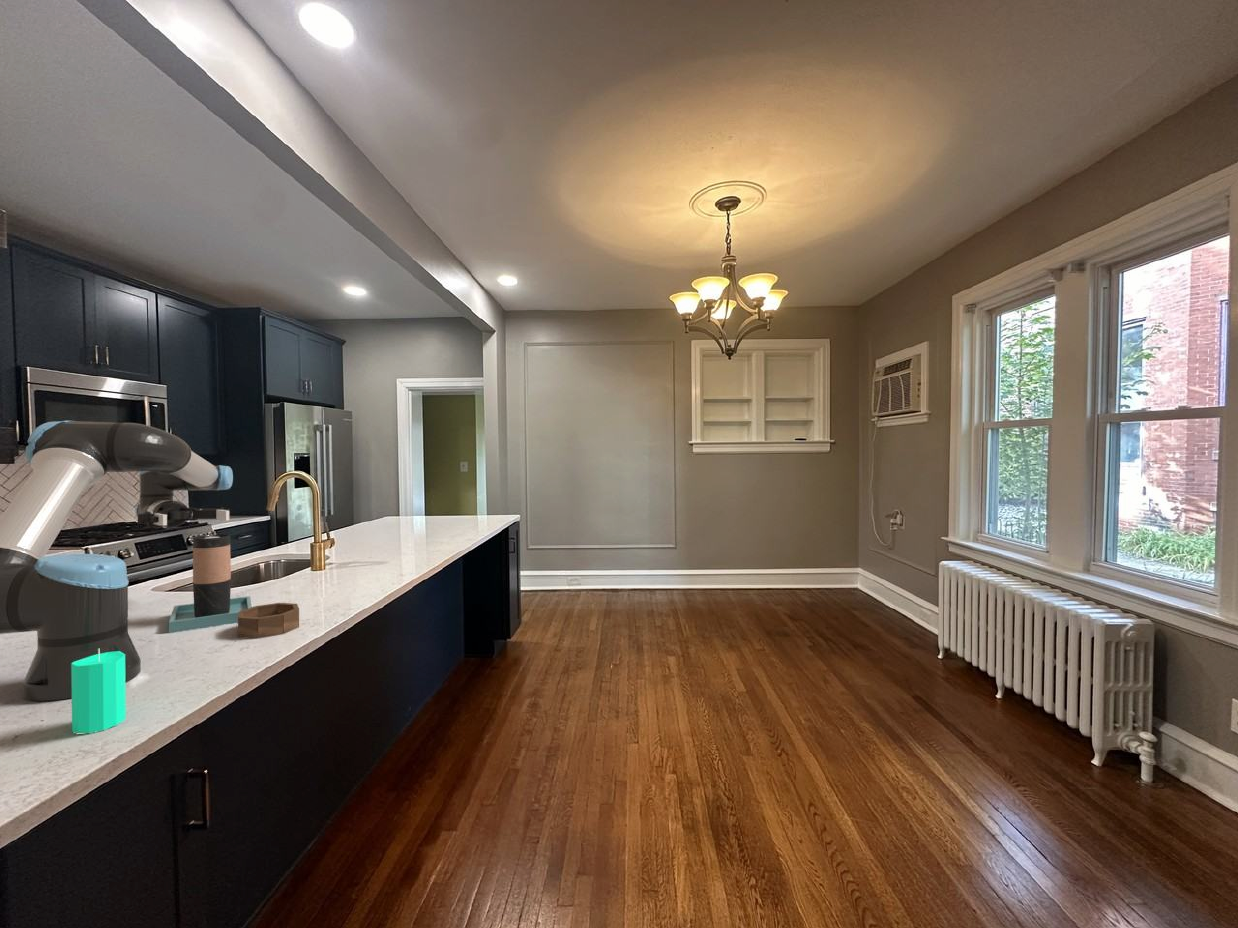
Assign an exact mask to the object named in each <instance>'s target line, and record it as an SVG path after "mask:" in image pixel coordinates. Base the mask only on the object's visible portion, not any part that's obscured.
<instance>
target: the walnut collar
mask: <svg viewBox="0 0 1238 928" xmlns="http://www.w3.org/2000/svg"><path fill="white" fill-rule="evenodd" d="M297 628H300V608H299V604H298V603H290V602H276V603H269V604H267V603H266V604H261V605H256V606H255V605H254V606H252V607H251V608H249V609H246V610H243V611H240V612H238V623H237V635H238V636H237V637H238V638H248V639H261V638H267V637H273V636H279V635H280V636H281V635H285V634H286V633H288V632H291V631H293V630H296V629H297Z"/></svg>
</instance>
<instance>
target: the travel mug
mask: <svg viewBox="0 0 1238 928" xmlns="http://www.w3.org/2000/svg"><path fill="white" fill-rule="evenodd" d="M231 559H232V558H231V535H230V533H229V534H228V533H217V534H215V535H214V536H206V535H196V536H194V537H193V538H192V589H193V590H192V591H193V603H194V614H195V617H196V618H197V617H205V616H212V615H219V614H226V613H229V611H230V599H231V590H232V589H231V587H232V567H231V565H232V563H231Z"/></svg>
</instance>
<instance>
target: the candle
mask: <svg viewBox="0 0 1238 928" xmlns="http://www.w3.org/2000/svg"><path fill="white" fill-rule="evenodd" d="M71 674H72V698H71V732H72V731H73V732H75V733H91V732H95V731H101V730H104V729H107V728H110V727H112V726H115V725H117V724H119V723H120V722H122V721H123V720H124V719H125V720H126V718H125V716H126V717H127V715H126V713H127V712H126V711H127V709H126V708H127V707H126V706H127V705H126V703H127V702H126V701H127V700H126V682H125V654H124V653H122V652H120V651H115V652H107V653H101V654H100V648H99V649H98V654H96V655H93V656H90V657H87V658H84V659H81V660H78V661H75V662H73V663H71ZM122 723H123V722H122ZM120 724H121V723H120ZM120 724H119V725H120ZM117 726H118V725H117ZM115 727H116V726H115ZM110 729H111V728H110ZM107 730H108V729H107ZM101 732H102V731H101Z"/></svg>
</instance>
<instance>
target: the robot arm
mask: <svg viewBox="0 0 1238 928" xmlns="http://www.w3.org/2000/svg"><path fill="white" fill-rule="evenodd" d="M27 444H28V445H27V446H25V455H26V459H27V462H28V464H29V465H30V467H31V469H32V471H33V472H32V473H31V474H30V476H29V477H28V479H27V480H26V482H25V483H24V484H23V486H21V488H20V489H19V490H18V492H17V494H16V495H15V496H14V498H13V499H12V500H11V502H10V503H9V504H8V506H7V507H6V509H5V510H4V512H3V513H2V514H1V515H0V635H3V634H14V633H15V634H16V633H26V632H28V633H29V632H36V634H37V635H36V636H37V648H36V652H35V655H34V656H33V659H32V661H31V663H30V666H29V668H28V671H27V673H26V675H25V678H24V681H23V684H22V697H23V698H24V699H25V700H29V701H35V702H37V701H40V702H43V701H44V702H46V701H56V700H57V701H58V700H59V701H60V700H65V699H72V674H71V663H73V662H75V661H78V660H81V659H84V658H87V657H90V656H93V655H96V654H98V649H99V648H100V654H101V653H107V652H115V651H120V652H122V653H124V654H125V683H126V682H129V681H130V680H133V679H134V678H136V677H137V676H138V675H140V673H141V670H142V669H141V667H142V665H141V662H142V661H141V658H140V655H139V653H138V651H137V650H136V649H137V648H136V647H135V645H134V642H133V641H132V639H131V637H130V635H129V626H128V625H129V615H128V614H129V606H128V605H129V597H128V595H129V582H130V581H129V578H128V574H127V573H128V571H127V564H126V562H125V561H124V560H123V559H121V558H119V557H117V556H114V555H107V554H99V553H96V554H95V553H72V554H68V553H67V554H66V553H65V554H64V553H63V554H54V555H47V553H48V552H49V550H50V548H51V547H52V545H53V543H54V542H55V540H56V538H57V537H58V535H59V534H60V532H61V530H62V529H63V527H64V526H65V523H66V522H67V521H68V520H69V517H70V516H71V514H72V512H73V511H74V509H75V508H76V505H77V504H78V503H79V501H80V499H81V497H82V496H83V494H84V493H85V491H86V489H87V488H89V487H92V486H94V485H95V486H96V485H98V483H99V482H101V481H102V480H103V478H104V476H105V474H107V473H128V472H129V473H132V472H135V473H136V472H137V473H138V472H139V475H138V476H139V503H138V504H137V506H136V507H135V510H134V513H135V516H136V517H137V525H144V524H147V527H154V526H161V527H162V528H163V529H166V528H177V527H180V526H182V525H183V524H185V523H186V522H188V521H192V522H193V521H198V520H199V519H201V520H202V519H203V520H204V519H211V520H212V519H216V520H219V521H226V522H227V521H230V518H231V517H230V515H231V509H230V508H224V507H223V506H220V507H219V508H204V507H201V508H198V507H188V506H187V505H186V504H185V503H183V502H181V501H177V500H174V492H176V491H177V492H178V491H225V490H230V489H231V487H232V486H233V484H234V483H233V482H234V474H233V469H232V468H231V467H230V466H229V465H228V466H227V465H220V464H219V465H214V464H212V463H210V461H207V460H206V459H205V458H203V457H201V456H200V455H198V454H197V453H195V452H194V451H193V450H191V449H192V448H191V447H190V446H189V444H188V443H187V442H186V441H185V440H183V439H182V438H180V437H179V436H176V435H175V434H172V433H170V432H168V431H166V430H164V429H163V430H162V429H160V428H157V427H153V426H150V425H147V424H142V423H136V422H112V421H111V422H108V421H107V422H106V421H83V420H79V421H77V420H62V421H48V422H45V423H42V424H40V425H39V426H37V427H36V428H35V429H34V430H33V431H32V432H31V433H30V435H29V437H28V439H27ZM46 555H47V556H46Z"/></svg>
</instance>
